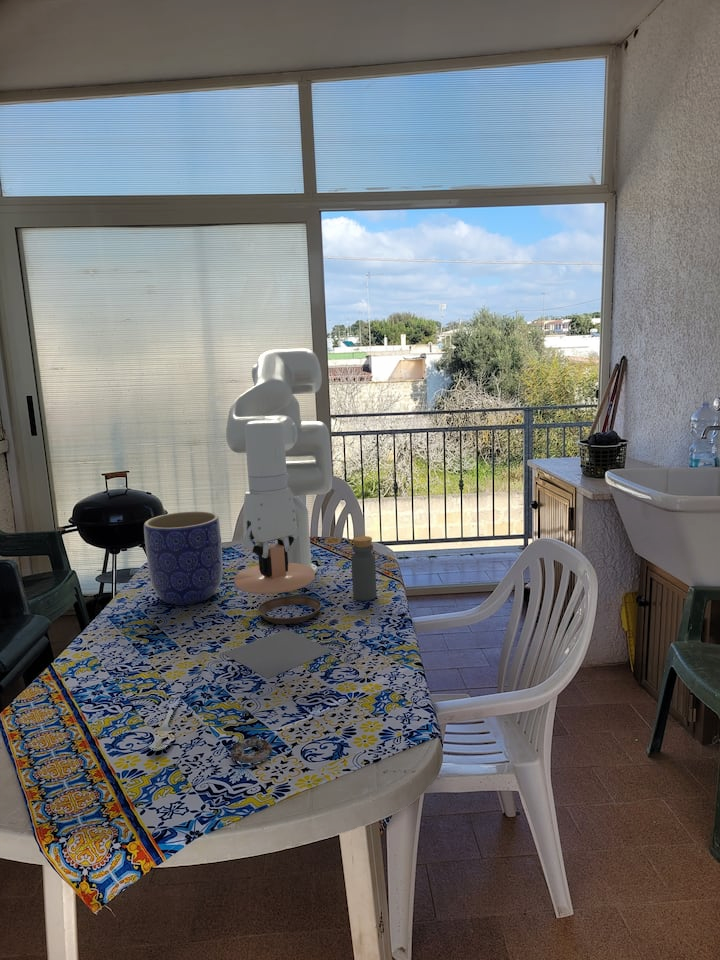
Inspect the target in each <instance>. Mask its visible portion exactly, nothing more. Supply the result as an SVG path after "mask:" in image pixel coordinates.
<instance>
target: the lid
mask: <svg viewBox="0 0 720 960" xmlns="http://www.w3.org/2000/svg"><path fill="white" fill-rule="evenodd" d="M268 557H270V558H271V570H272V576H271V577H267V576H265V575H262V574H261V572H260V570H259V564H258V565H254V566H251V567H248V568H246V569H243V570H241V571H240V572H238V573H237V574H235V576H234V578H233V581H234V582H233V583H234V587H235V588H236V589H237V590H239V591H242V592H244V593H248V594H258V595H271V594H272V595H273V594H281V593H286V592H287V593H289V592H293V591H296V590H299V589H302V588H304V587H307V586H309V585H310V584H312V583H313V582H314V581H315V577H316V575H315V574H316V573H314V570H313V569H312V568H311V567H309V566H306V565H303V564H298V563H288V571H287V572H286V570H285V556H284V546H282V545H279V544H276V542H274V543H270V544H268Z"/></svg>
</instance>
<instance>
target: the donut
mask: <svg viewBox="0 0 720 960" xmlns="http://www.w3.org/2000/svg"><path fill="white" fill-rule="evenodd" d="M254 746H257V747H259V748H260V749H261V750H258V751H256V752H255V753H253V754H252V753H251V754H250V753H249V754H248V753H247V752H246V751H244V749H246V748H248V747H254ZM231 748H232V749H231V751H230V757H232V758H233V759H234V760H236V761H239V762H243V763H257V762H260V761H263V760H265V759H266V758H267V757H268V756H269V754H270V753H271V754H272V752H273V746H272V744H271V743H270V742H269V741H268V740H266V739H262V738H260V739H259V737H258V735H256V736H252V737H250V738H247V739H243V740H241V741H239V742H236V744H235V745H233V746H232V747H231ZM271 751H272V752H271ZM244 753H245V754H244ZM269 757H270V756H269ZM232 758H231V759H232Z"/></svg>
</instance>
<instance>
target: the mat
mask: <svg viewBox="0 0 720 960" xmlns="http://www.w3.org/2000/svg"><path fill="white" fill-rule="evenodd" d="M332 652H335V650H333V649H331V648H329V647H327V646H325V645H322V644H321V643H318V642H316V641H313V639H312V640H311V639H309V638H307V637H305V636H303V635H301V634H298V633H296V632H294V631H291V630H289V629H284V630H281V631H279V632H275V633H273V634H271V635H267V636H265V637H262V638H259V639H256V640H255V641H251V642H249V643H246V644H244V645H241V646H237V647H235V648H232V649H230V650H227V651H224V652H222V654H223V655H225V656H226V657H229V658H231V659H232V660H234V661H235V662H237V663H239V664H241V665H242V666H244V667H246V668H248V669H250V670H251V671H253V672H255V673H257V674H258V675H259V676H262V677H264V678H265V679H267V680H269V679H272V678H273V677H275V676H279V675H281V674H283V673H285V672H287V671H289V670H293V669H295V668H297V667H300V666H301V665H304V664H306V663H309V662H311V661H314V660H316V659H318V658H320V657H323V656H325V655H327V654H330V653H332Z"/></svg>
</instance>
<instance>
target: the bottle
mask: <svg viewBox="0 0 720 960" xmlns="http://www.w3.org/2000/svg"><path fill="white" fill-rule="evenodd" d="M372 541H373V538H372V536H367V535H359V536H356V537H353V538H352V542H353V545H352V548H351V549H352V551H353V552H354V553H353V554H352V555H351V556H350V557H351V577H352V580H351V581H352V595H353V596H352V597H353V599H354V600H357V601H362V602H367V601H372V600H375V599H376V598H377V596H378V595H377V575H376V574H377V570H376V569H377V568H376V556H375V553H373V552H372V551H373V550H374V545H373V543H372Z"/></svg>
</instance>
